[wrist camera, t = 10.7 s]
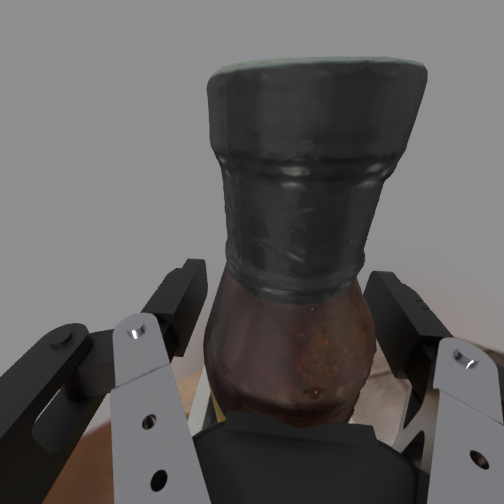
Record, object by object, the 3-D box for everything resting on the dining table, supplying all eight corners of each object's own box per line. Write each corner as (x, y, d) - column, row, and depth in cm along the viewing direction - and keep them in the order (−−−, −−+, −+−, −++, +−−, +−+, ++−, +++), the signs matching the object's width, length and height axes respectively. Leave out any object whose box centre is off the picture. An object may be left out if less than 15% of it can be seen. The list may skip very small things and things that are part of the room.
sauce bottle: (262, 381, 19) (279, 92, 9) (334, 440, 15) (505, 78, 5) (201, 460, 15) (88, 65, 4) (283, 565, 11) (700, -128, 1)
